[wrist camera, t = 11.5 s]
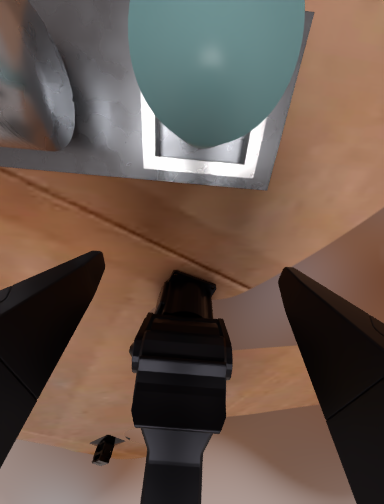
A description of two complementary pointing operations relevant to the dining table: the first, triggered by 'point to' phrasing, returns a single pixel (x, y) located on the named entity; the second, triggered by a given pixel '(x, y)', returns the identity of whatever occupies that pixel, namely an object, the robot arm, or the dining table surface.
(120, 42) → the motor plate
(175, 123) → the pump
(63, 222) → the dining table surface
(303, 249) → the dining table surface
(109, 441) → the black block on plate
